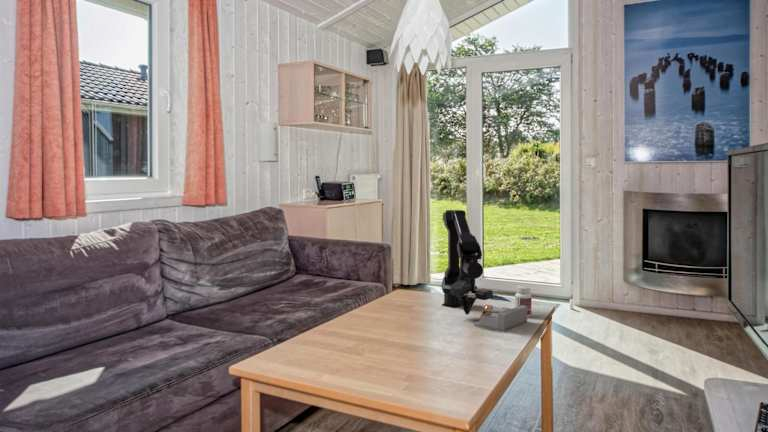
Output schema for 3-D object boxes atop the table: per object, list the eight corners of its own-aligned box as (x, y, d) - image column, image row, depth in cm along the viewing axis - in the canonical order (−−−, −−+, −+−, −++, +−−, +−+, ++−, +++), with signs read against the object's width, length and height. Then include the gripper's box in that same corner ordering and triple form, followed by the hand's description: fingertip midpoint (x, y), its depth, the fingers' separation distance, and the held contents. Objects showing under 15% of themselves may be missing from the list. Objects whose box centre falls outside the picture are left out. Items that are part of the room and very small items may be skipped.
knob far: (482, 315, 211) (482, 305, 211) (489, 313, 215) (489, 303, 215) (501, 319, 206) (501, 309, 206) (508, 316, 210) (508, 306, 209)
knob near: (480, 321, 203) (480, 311, 202) (487, 319, 206) (488, 309, 206) (500, 325, 197) (500, 315, 197) (507, 323, 201) (507, 312, 201)
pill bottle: (534, 315, 216) (534, 287, 215) (525, 318, 212) (526, 289, 211) (520, 313, 221) (521, 284, 220) (511, 315, 216) (512, 286, 215)
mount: (474, 325, 202) (474, 309, 202) (498, 316, 215) (498, 301, 215) (503, 332, 194) (504, 315, 194) (527, 322, 207) (527, 306, 207)
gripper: (434, 273, 208) (434, 314, 210) (478, 279, 196) (477, 323, 197) (451, 268, 217) (450, 308, 218) (494, 275, 204) (493, 316, 206)
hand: (467, 314), depth 210 cm, fingers closed
